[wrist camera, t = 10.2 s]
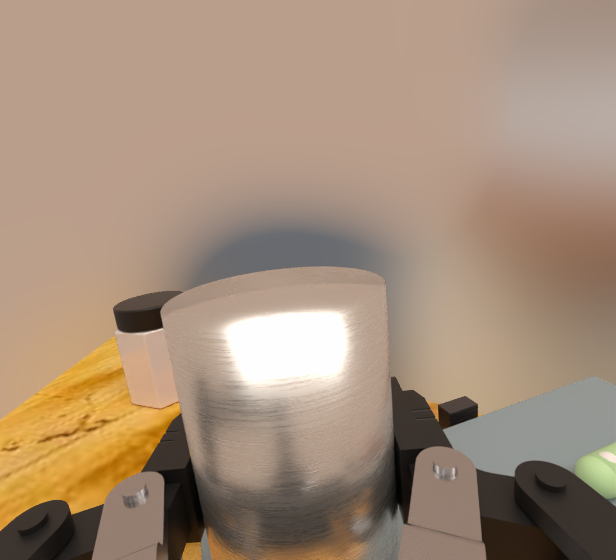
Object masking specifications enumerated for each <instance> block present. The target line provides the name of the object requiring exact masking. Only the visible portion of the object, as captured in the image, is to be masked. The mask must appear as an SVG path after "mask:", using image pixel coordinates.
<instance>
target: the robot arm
mask: <svg viewBox="0 0 616 560" xmlns="http://www.w3.org/2000/svg"><path fill="white" fill-rule="evenodd" d="M391 393H392V410H393V428H394V446H395V464H396V482H397V500H398V506H399V509H400V513H401V516H402V520H403V523H404V525H403V530H402V536H401V543H400V550H399V557H398V560H616V506H615V505H613V504H612V503H611V502H609V501H608V500H607V499H606V498H604V497H603V496H602V495H600V494H599V493H598V492H597V491H595V490H594V489H593V488H592V487H590V486H589V485H588V484H586V483H585V482H584V481H583V480H581V479H580V478H579V477H578V476H576V475H575V474H573V473H572V472H571V471H569V470H567V469H565V468H563V467H561V466H559V465H556V464H553V463H550V462H545V461H537V460H533V461H526V462H523V463H521V464H519V465H518V466H517V467H516V469H515V476H508V475H501V474H495V473H490V472H486V471H482V470H479V469H477V468H475V466H474V464H473V462H472V461H471V460H470V459H469V458H468V457H467V456H466V455H464V454H463V453H461V452H459V451H457V450H455V449H453V447H452V445H451V443H450V442H449V440H448V438H447V436H446V435H445V433H444V431H443V429H442V428H441V426H440V424H439V423H438V421H437V419H435V416H434V414H433V412H432V410H430V407H429V405H428V403H427V402H426V400H425V398H424V397H422V396H421V395H420V394H418V393H417V392H415V391H414V390H407V391H402V389H401V387H400V385H399V383H398V381H397V379H396V377H391ZM204 530H205V523H204V519H203V514H202V509H201V504H200V500H199V495H198V490H197V485H196V480H195V476H194V471H193V466H192V461H191V457H190V452H189V447H188V442H187V438H186V433H185V428H184V423H183V418H182V414H180V415H179V416H177V417H176V418H175V419H174V420H173V421H172V422H171V424H170V426H169V427H168V429H167V430H166V434H164V435H163V437H162V439H161V440H160V443H159V444H158V445H157V447H156V448H155V450H154V452H153V453H152V455H151V457H150V458H149V460H148V462H147V463H146V465H145V466H144V468H143V470H142V471H141V473H138V474H136V475H133V476H131V477H129V478H127V479H125V480H124V481H122V482H121V483H119V484H118V485H117V486H116V487H115V488H114V489H113V490H112V491H111V492H110V493H109V494H108V496H107V498H106V500H105V503H104V504H102V505H100V506H97V507H94V508H91V509H88V510H85V511H82V512H79V513H76V514H73V515H71V512H70V509H69V505H68V504H67V503H66V502H65V501H62V500H52V501H47V502H44V503H41V504H39V505H36V506H34V507H32V508H30V509H28V510H27V511H25V512H23V513H22V514H20V515H19V516H18V517H16V518H15V519H14V520H13V521H11V522H10V523H9V524H8V525H7V526H6V527H5V528H4V529H2V530H1V531H0V560H183V558H182V554H183V551H184V548H185V545H186V543H192V542H201V540H202V537H203V534H204Z"/></svg>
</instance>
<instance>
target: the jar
mask: <svg viewBox="0 0 616 560" xmlns="http://www.w3.org/2000/svg"><path fill="white" fill-rule="evenodd" d="M181 293H183V292H180V291H164V292H156V293H150V294H145V295H141V296H137V297H134V298H131V299H127V300H125V301H122V302H120V303H118V304H117V305H116V306H114V308H113V311H114V315H115V319H116V324H117V327H118V330H116V331H115V337H116V341H117V345H118V349H119V353H120V357H121V361H122V365H123V370H124V374H125V378H126V382H127V386H128V390H129V394H130V398H131V402H132V404H135V405H141V406H146V407H152V408H158V409H162V408H165V407H167V406H169V405H172V404H174V403H176V402H179V399H178V395H177V390H176V385H175V380H174V375H173V371H172V366H171V361H170V356H169V352H168V347H167V342H166V337H165V332H164V328H163V323H162V318H161V313H160V312H161V308H162V307H163V306H164V304H166V303H167V302H168V301H169V300H171V299H172V298H174V297H175V296H177V295H179V294H181Z"/></svg>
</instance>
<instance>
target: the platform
mask: <svg viewBox="0 0 616 560" xmlns="http://www.w3.org/2000/svg"><path fill="white" fill-rule="evenodd" d="M443 431H444V433H445V435H446V436H447V438H448V440H449V442H450V443H451V445H452V447H453V449H455V450H457V451H459V452H461V453H463V454H464V455H466V456H467V457H468V458H469V459H470V460H471V461H472V462H473V464H474V466H475V468H477V469H479V470H482V471H486V472H490V473H495V474H501V475H508V476H515V469H516V467H517V466H518V465H519V464H521V463H523V462H526V461H533V460H537V461H545V462H550V463H553V464H556V465H559V466H561V467H563V468H565V469H567V470H569V471H571V472H572V473H573V474H575V475H576V476H578V477H579V478H580V479H581V480H583V481H584V482H585V483H586V484H588V485H589V486H590V487H592V488H593V489H594V490H595V491H597V492H598V493H599V494H600V495H602V496H603V497H604V498H606V499H607V500H608V501H609V502H611V503H612V504H613V505H615V506H616V385H614V384H612V383H609V382H607V381H604V380H602V379H599V378H597V377H594V376H592V377H589V378H587V379H584V380H581V381H578V382H575V383H573V384H570V385H567V386H564V387H561V388H558V389H556V390H553V391H550V392H547V393H545V394H542V395H539V396H536V397H533V398H530V399H528V400H525V401H522V402H519V403H516V404H514V405H511V406H508V407H505V408H502V409H499V410H497V411H494V412H491V413H488V414H485V415H483V416H480V417H477V418H474V419H471V420H469V421H466V422H463V423H460V424H457V425H455V426H452V427H449V428H446V429H443ZM398 517H399V535H400V543H401V536H402V530H403V525H404V523H403V520H402V516H401V513H400V509H399V506H398ZM201 553H202V560H212V557H211V552H210V547H209V543H208V538H207V533H206V528H205V530H204V534H203V537H202V540H201Z"/></svg>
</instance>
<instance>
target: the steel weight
mask: <svg viewBox="0 0 616 560" xmlns="http://www.w3.org/2000/svg"><path fill="white" fill-rule="evenodd" d="M160 313H161V318H162V323H163V328H164V332H165V337H166V342H167V347H168V352H169V356H170V361H171V366H172V371H173V375H174V380H175V385H176V390H177V395H178V399H179V404H180V409H181V414H182V418H183V423H184V428H185V433H186V438H187V442H188V447H189V452H190V457H191V461H192V466H193V471H194V476H195V480H196V485H197V490H198V495H199V500H200V504H201V509H202V514H203V519H204V523H205V528H206V533H207V538H208V543H209V547H210V552H211V557H212V560H398V557H399V550H400V535H399V517H398V500H397V482H396V464H395V446H394V428H393V410H392V393H391V376H390V357H389V340H388V321H387V304H386V286H385V281H384V279H383V278H381V277H380V276H379V275H377V274H374V273H372V272H369V271H364V270H360V269H354V268H344V267H300V268H286V269H277V270H269V271H262V272H256V273H250V274H244V275H240V276H234V277H230V278H226V279H222V280H218V281H215V282H211V283H207V284H204V285H201V286H198V287H196V288H193V289H190V290H188V291H186V292H183V293H181V294H179V295H177V296H175V297H174V298H172V299H171V300H169V301H168V302H167V303H166V304H164V306H163V307H162V308H161V312H160Z"/></svg>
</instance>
